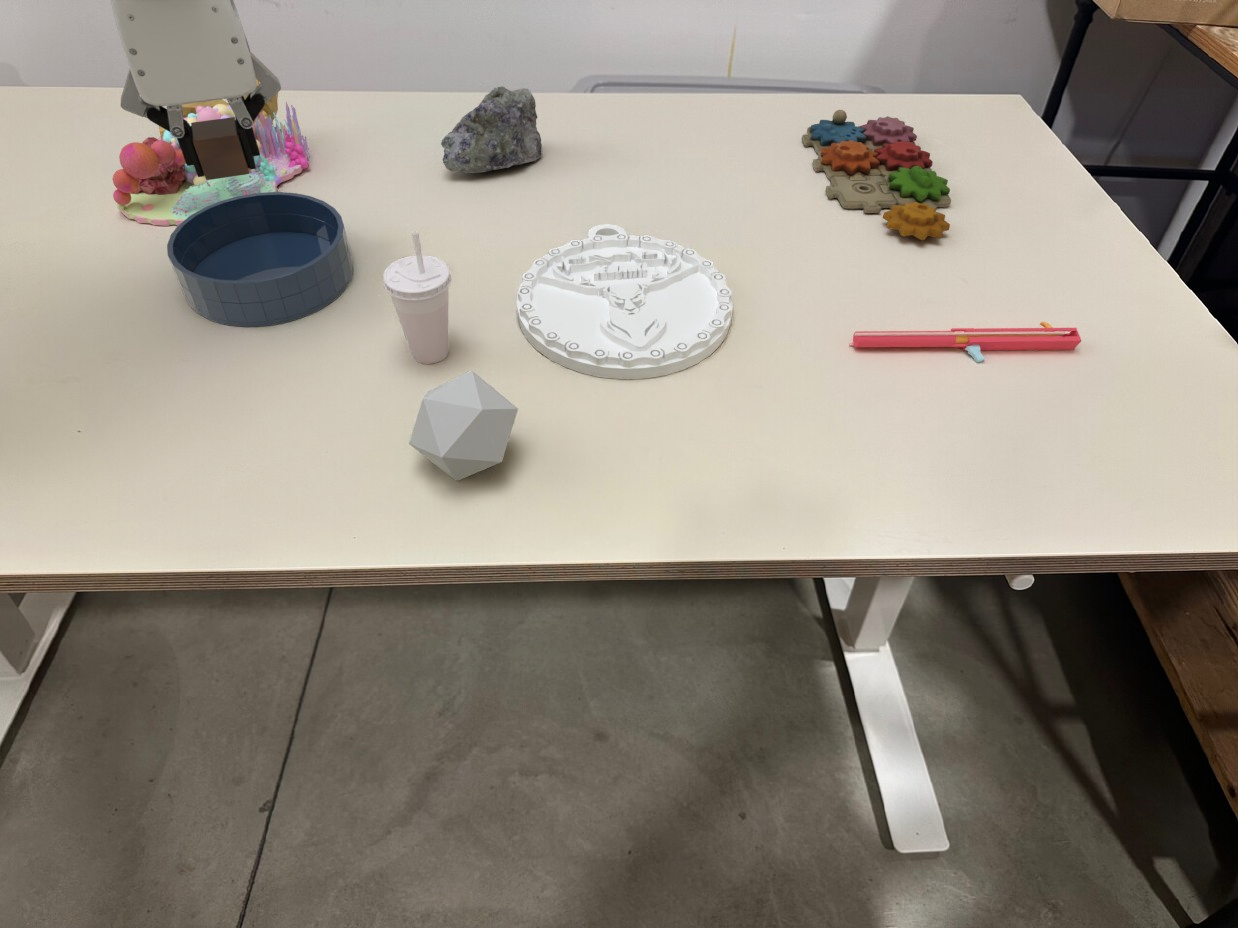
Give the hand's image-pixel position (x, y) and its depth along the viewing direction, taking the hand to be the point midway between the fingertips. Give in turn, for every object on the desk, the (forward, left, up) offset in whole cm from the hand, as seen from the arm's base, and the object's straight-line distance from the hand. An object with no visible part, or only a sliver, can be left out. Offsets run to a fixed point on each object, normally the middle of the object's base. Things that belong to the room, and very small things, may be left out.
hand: (225, 164), depth 85 cm
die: (+15, -33, -15) cm, 39 cm away
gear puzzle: (+79, -2, -15) cm, 80 cm away
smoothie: (+15, -17, -15) cm, 27 cm away
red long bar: (+68, -35, -15) cm, 77 cm away
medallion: (+37, -15, -15) cm, 42 cm away
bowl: (+1, +2, -15) cm, 15 cm away
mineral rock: (+32, +20, -15) cm, 41 cm away
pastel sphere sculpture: (-3, +28, -15) cm, 32 cm away
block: (0, 0, 0) cm, 0 cm away
